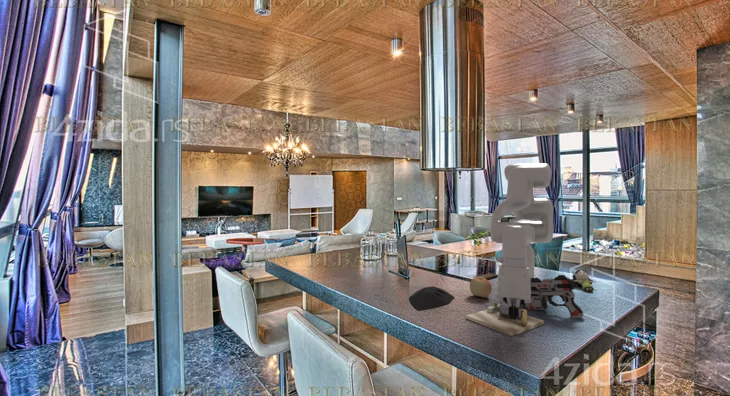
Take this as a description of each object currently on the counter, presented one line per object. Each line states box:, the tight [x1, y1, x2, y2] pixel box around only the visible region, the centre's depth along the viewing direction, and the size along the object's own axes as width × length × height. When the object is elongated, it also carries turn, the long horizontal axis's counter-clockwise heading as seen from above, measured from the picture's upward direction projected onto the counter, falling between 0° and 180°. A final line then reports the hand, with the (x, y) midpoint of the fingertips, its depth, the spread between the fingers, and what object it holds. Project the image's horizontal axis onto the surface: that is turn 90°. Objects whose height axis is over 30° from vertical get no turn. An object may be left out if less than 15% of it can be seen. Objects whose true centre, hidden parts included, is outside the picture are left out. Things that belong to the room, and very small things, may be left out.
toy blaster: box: [521, 274, 584, 319], centre depth 132 cm, size 4×21×15 cm, turn 51°
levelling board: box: [465, 302, 545, 337], centre depth 123 cm, size 18×18×4 cm
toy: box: [572, 269, 597, 293], centre depth 164 cm, size 10×7×15 cm
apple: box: [469, 276, 493, 298], centre depth 151 cm, size 9×9×8 cm
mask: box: [408, 286, 456, 312], centre depth 147 cm, size 17×5×30 cm
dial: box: [499, 302, 528, 326], centre depth 122 cm, size 14×8×5 cm, turn 1°
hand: (513, 318), depth 116 cm, fingers closed
